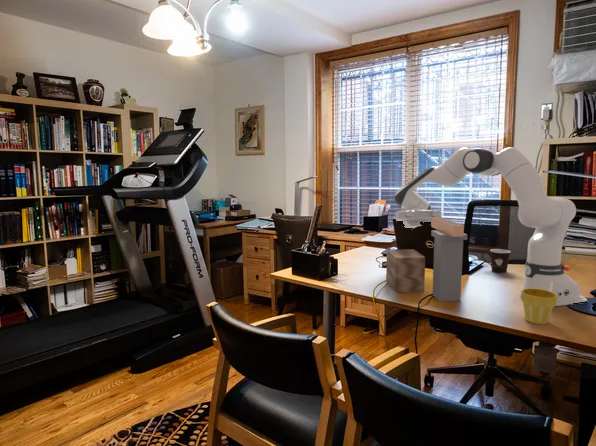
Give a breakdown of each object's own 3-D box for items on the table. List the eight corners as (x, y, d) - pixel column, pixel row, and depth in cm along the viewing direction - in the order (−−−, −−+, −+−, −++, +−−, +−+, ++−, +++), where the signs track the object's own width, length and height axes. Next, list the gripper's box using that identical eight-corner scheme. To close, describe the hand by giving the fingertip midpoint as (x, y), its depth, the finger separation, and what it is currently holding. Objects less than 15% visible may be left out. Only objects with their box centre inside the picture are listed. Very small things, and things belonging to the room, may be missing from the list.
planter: (440, 226, 173) (441, 217, 173) (463, 236, 151) (464, 225, 151) (431, 226, 173) (431, 217, 172) (452, 236, 151) (453, 225, 151)
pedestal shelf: (453, 293, 169) (456, 230, 165) (464, 301, 159) (467, 234, 155) (429, 293, 168) (431, 230, 165) (438, 302, 159) (440, 235, 155)
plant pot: (560, 327, 134) (562, 298, 132) (525, 325, 136) (527, 296, 134) (547, 316, 144) (550, 288, 142) (515, 314, 146) (517, 287, 144)
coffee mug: (512, 271, 199) (514, 251, 198) (502, 274, 194) (504, 253, 193) (489, 266, 209) (490, 247, 207) (479, 269, 204) (480, 249, 202)
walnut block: (412, 281, 186) (413, 249, 184) (424, 291, 171) (425, 257, 169) (386, 281, 186) (386, 249, 184) (395, 292, 171) (396, 257, 169)
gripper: (391, 211, 196) (399, 205, 182) (434, 210, 197) (445, 204, 183) (392, 224, 195) (400, 219, 181) (435, 223, 196) (446, 218, 182)
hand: (423, 212), depth 182 cm, fingers open, 8 cm apart
